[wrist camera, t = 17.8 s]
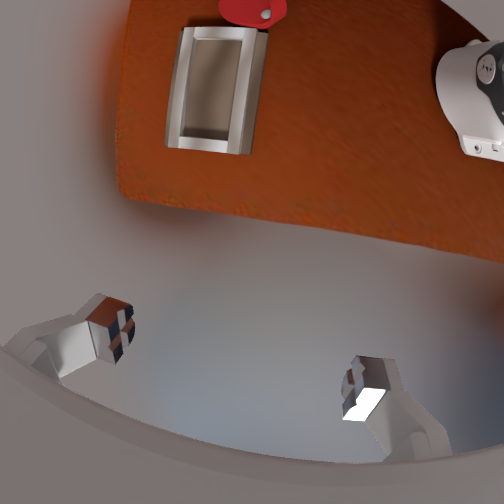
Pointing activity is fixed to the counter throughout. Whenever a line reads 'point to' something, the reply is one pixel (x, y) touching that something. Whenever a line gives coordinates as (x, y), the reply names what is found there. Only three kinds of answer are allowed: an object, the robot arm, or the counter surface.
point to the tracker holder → (253, 12)
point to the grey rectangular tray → (216, 89)
